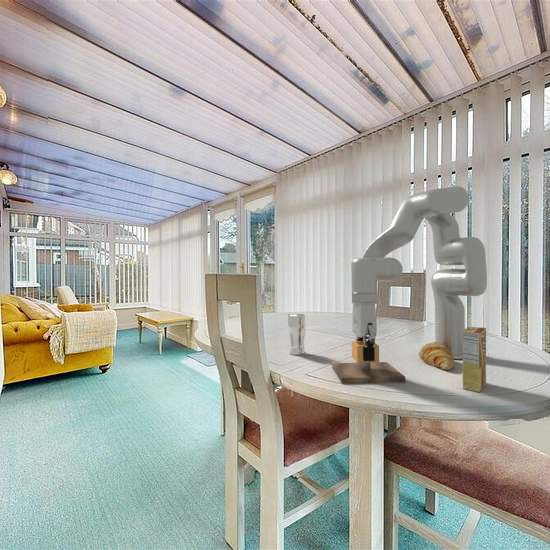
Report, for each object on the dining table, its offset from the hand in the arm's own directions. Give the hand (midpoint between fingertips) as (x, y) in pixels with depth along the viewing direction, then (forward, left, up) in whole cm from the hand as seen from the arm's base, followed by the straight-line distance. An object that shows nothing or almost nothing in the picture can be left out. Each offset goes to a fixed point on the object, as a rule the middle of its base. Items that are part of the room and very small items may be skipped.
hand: (365, 356), depth 91 cm
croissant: (-27, -11, -6) cm, 30 cm away
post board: (0, 0, -5) cm, 5 cm away
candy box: (-26, +11, -6) cm, 29 cm away
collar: (0, 0, -1) cm, 1 cm away
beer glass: (+19, -26, -6) cm, 33 cm away
